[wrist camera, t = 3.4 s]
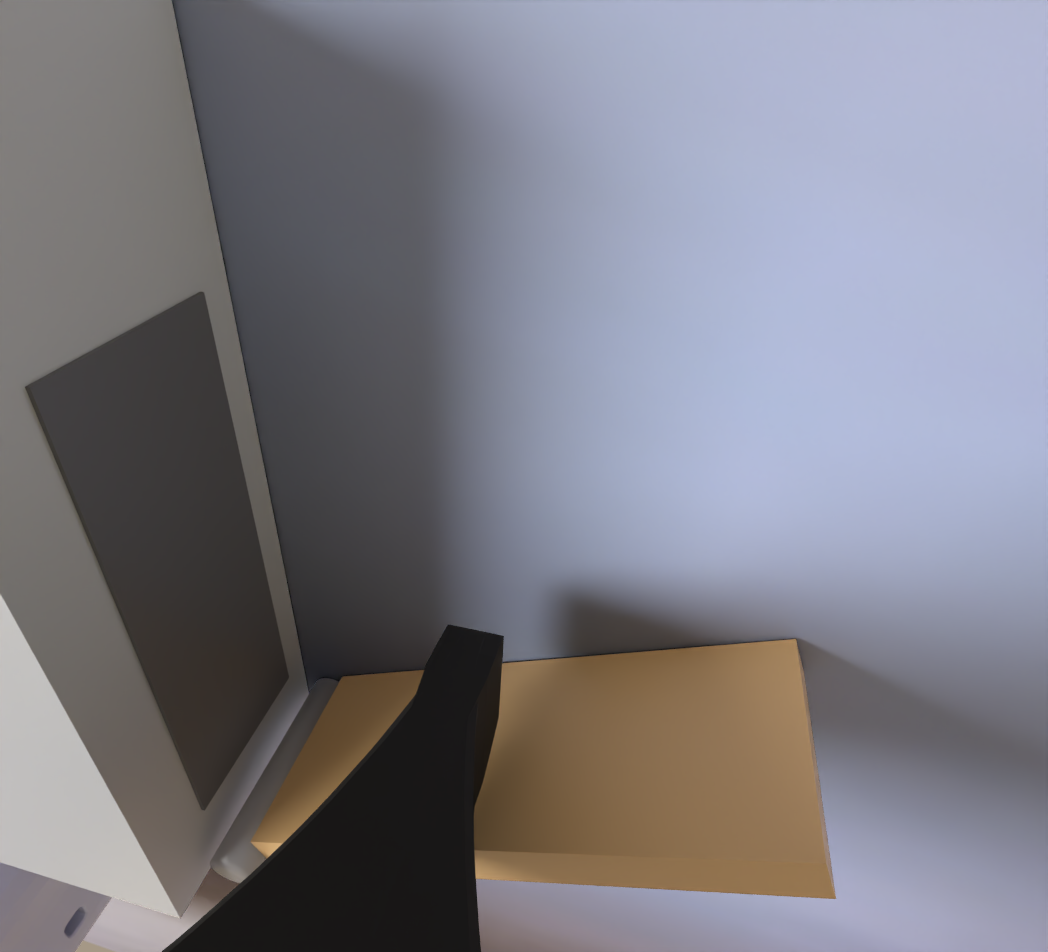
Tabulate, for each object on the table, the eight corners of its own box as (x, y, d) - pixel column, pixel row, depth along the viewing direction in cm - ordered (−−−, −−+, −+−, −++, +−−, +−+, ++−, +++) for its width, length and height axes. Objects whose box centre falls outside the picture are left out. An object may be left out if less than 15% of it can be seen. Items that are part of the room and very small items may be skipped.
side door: (327, 703, 15) (227, 883, 12) (308, 679, 14) (201, 857, 11) (804, 672, 11) (839, 925, 8) (795, 638, 11) (830, 890, 8)
